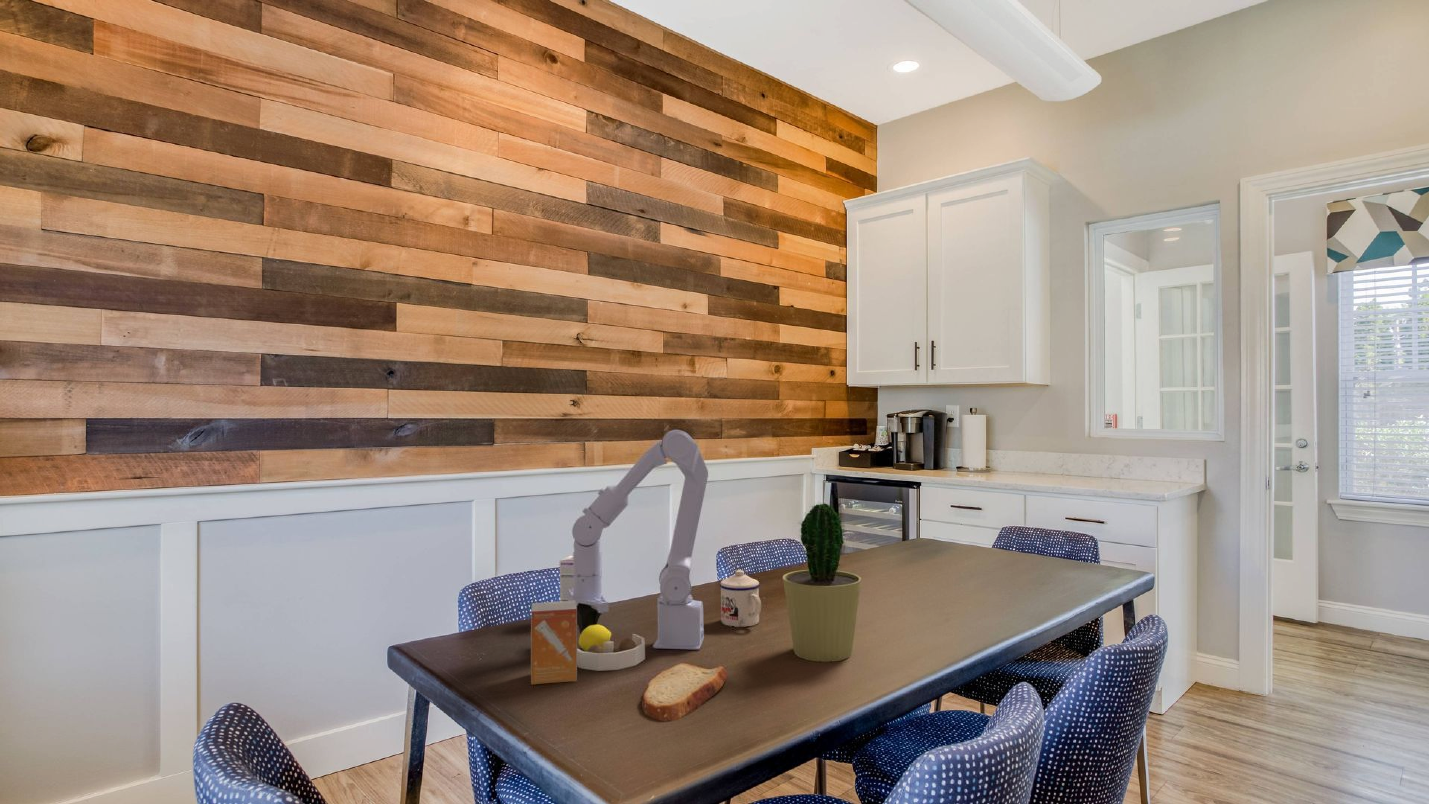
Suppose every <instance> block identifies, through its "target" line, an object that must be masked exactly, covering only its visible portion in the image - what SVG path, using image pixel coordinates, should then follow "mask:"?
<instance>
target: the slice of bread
mask: <svg viewBox="0 0 1429 804" xmlns="http://www.w3.org/2000/svg"><path fill="white" fill-rule="evenodd" d="M728 678H729V675H728V672H727V670H726V669H725V667H723V666H718V667H715V668H703V667H699V666H696V665H693V664H690V663H686V662H685V663H681V662H680V663H678V664H676V665H674V666H672V667H670V668H667V669H666V670H662V671H660V673H659V674H657V675H655V677H653V678H652V679H650V681H649V682H648V684H647V689H646V690H645V691H644V693H643V695H642V700H641V707H642V710H643V712H644V713H645V714H646V715H647V716H649V717H651V718H653V719H655V720H658V719H659V720H658V721H664V722H665V721H666V722H669V721H677V720H680V719H682V718H684V717H685V716H688V715H689V714H691V713H693V712H694V711H695V710H697V709H699V707H701V706H702V705H704V704H705V703H707V702H708V701H710V699H711V698H712V697H714V696H715V695H717V693H718V692H719V691H720V690H721V689H722V688H723V686H724V683H725V682H726V680H728Z"/></svg>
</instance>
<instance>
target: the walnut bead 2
mask: <svg viewBox="0 0 1429 804" xmlns="http://www.w3.org/2000/svg"><path fill="white" fill-rule="evenodd" d="M635 647H636V644H635V642H634V641H633V640H632V638H629V637H627V638H623V639H622V640H621V641H620V642H619V644H618V652H621V651H626V650H630V649H633V648H635Z"/></svg>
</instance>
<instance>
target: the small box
mask: <svg viewBox="0 0 1429 804" xmlns="http://www.w3.org/2000/svg"><path fill="white" fill-rule="evenodd" d="M577 648H578V623H577V606H576V601H575V600H574V601H560V600H559V601H558V600H557V601H546V602H533V603H531V618H530V684H531V685H532V686H533V685H539V684H541V685H542V684H551V683H552V684H553V683H564V682H565V683H567V682H577V680H578V669H577V668H578V667H577Z"/></svg>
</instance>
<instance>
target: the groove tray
mask: <svg viewBox="0 0 1429 804" xmlns="http://www.w3.org/2000/svg"><path fill="white" fill-rule="evenodd" d="M631 639H632V640H633V641H634V642H635V644H636V647H635V648H633V649H630V650H626V651H621V652H619V651H617V652H614V651H615V646H614V644H615V642H614V641H612V640H610V641H605V642H603V650H604V653H592V652H586V651H585V650H582V649H580V648H578V647H577V668H578V669H579V668H580V669H584V670H591V671H596V672H597V671H599V672H600V671H619V670H623V669H626V668H632V667H634V666H637V665H639V664H640V663H641V662H643V661H644V660H646V641H645V637H643V636H640V635H638V634H636V633H632V634H631Z"/></svg>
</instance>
